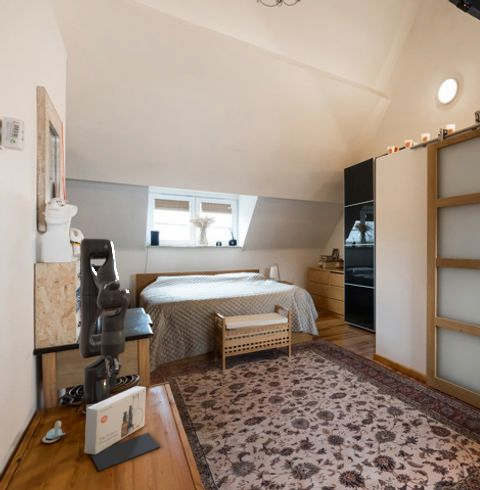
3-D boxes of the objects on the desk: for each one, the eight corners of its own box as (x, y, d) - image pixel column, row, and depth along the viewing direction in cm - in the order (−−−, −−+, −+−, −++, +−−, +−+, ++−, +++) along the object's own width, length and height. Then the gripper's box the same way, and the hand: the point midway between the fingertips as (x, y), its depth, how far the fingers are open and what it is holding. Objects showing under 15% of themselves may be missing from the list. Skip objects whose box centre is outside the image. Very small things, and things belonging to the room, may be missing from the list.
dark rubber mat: (89, 454, 122) (89, 453, 122) (147, 433, 136) (147, 432, 136) (99, 471, 114) (99, 470, 114) (160, 447, 127) (160, 446, 127)
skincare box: (96, 455, 121) (96, 409, 121) (83, 453, 122) (83, 408, 122) (146, 425, 142) (146, 386, 142) (135, 424, 143) (135, 385, 143)
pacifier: (46, 446, 126) (67, 438, 131) (45, 429, 126) (66, 422, 131) (39, 439, 130) (60, 432, 135) (39, 423, 130) (59, 416, 135)
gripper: (129, 342, 135) (128, 387, 135) (119, 335, 144) (119, 377, 144) (105, 346, 129) (105, 393, 129) (97, 339, 138) (96, 383, 138)
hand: (112, 385), depth 137 cm, fingers closed
